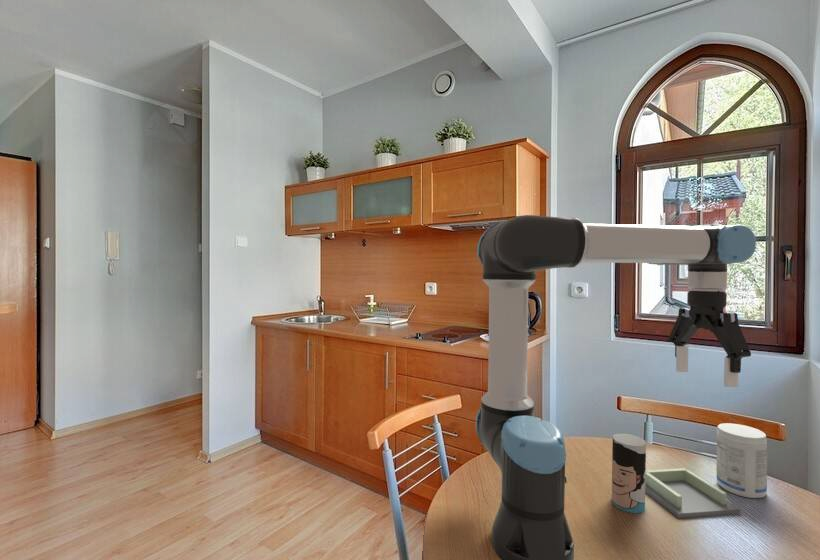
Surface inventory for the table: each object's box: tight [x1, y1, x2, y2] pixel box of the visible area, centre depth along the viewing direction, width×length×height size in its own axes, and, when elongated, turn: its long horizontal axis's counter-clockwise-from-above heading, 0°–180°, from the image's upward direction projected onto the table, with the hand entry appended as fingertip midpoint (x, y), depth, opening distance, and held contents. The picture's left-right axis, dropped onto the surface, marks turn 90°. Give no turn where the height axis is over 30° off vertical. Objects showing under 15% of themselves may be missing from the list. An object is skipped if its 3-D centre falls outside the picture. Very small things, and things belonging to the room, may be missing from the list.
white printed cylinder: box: [611, 433, 647, 514], centre depth 90 cm, size 7×7×15 cm
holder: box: [645, 467, 741, 519], centre depth 94 cm, size 15×15×4 cm
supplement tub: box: [716, 422, 768, 499], centre depth 97 cm, size 10×10×15 cm
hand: (704, 378), depth 95 cm, fingers open, 13 cm apart
